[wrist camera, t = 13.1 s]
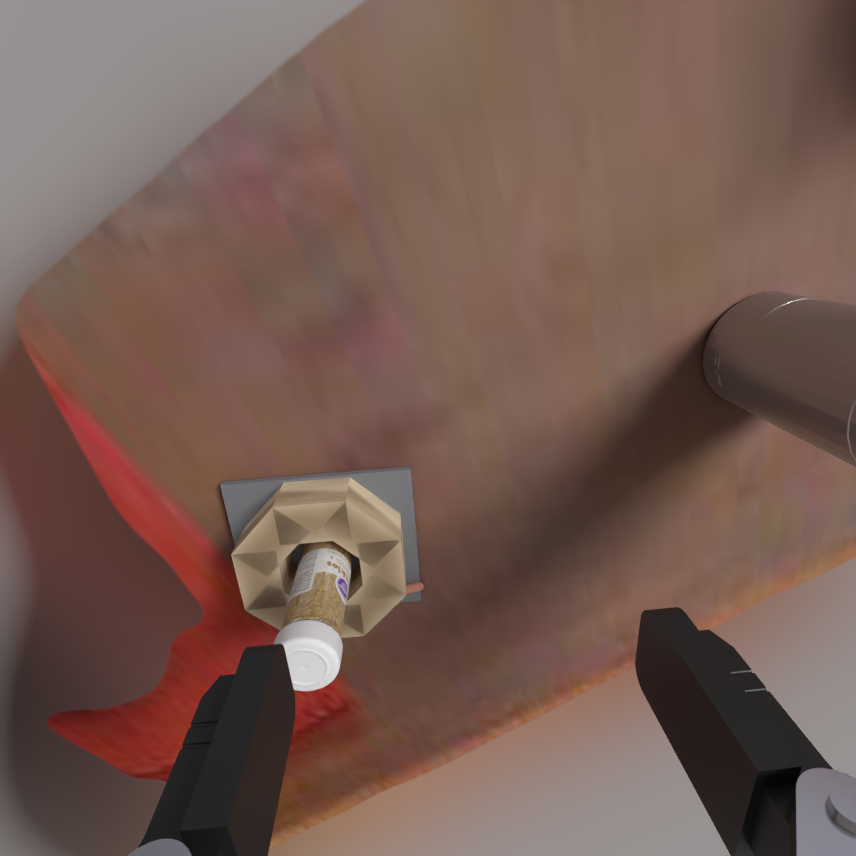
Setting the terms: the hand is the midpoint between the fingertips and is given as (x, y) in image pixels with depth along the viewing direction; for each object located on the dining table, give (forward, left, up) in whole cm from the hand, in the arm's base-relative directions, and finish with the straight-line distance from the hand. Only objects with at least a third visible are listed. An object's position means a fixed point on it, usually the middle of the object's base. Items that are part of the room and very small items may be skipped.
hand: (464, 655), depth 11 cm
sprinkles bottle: (+9, +17, -30) cm, 35 cm away
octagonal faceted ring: (+9, +17, -30) cm, 35 cm away
